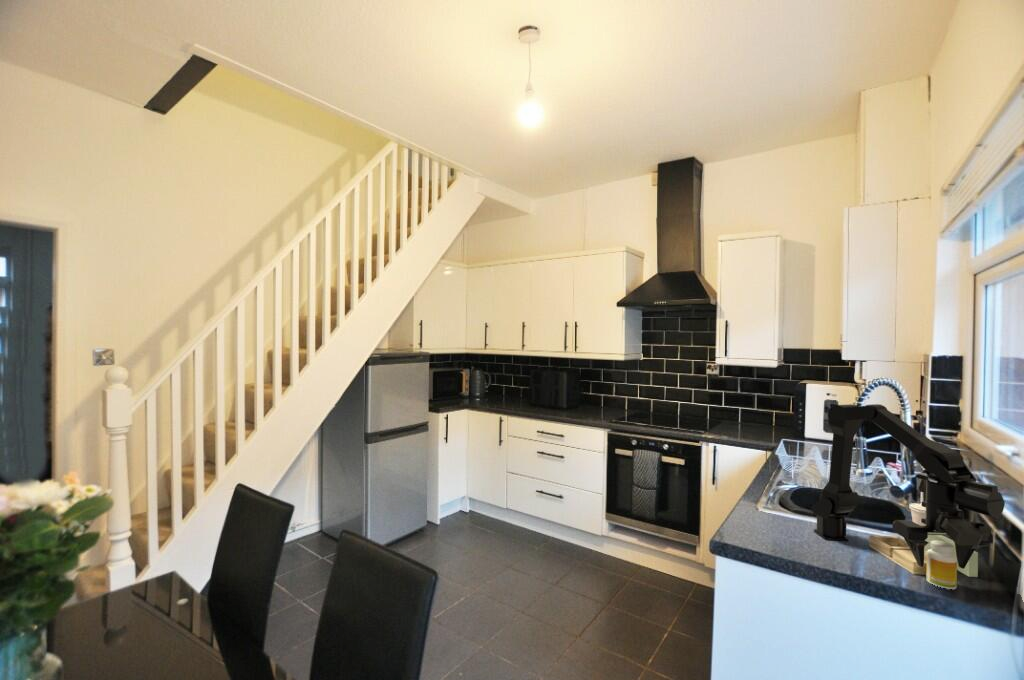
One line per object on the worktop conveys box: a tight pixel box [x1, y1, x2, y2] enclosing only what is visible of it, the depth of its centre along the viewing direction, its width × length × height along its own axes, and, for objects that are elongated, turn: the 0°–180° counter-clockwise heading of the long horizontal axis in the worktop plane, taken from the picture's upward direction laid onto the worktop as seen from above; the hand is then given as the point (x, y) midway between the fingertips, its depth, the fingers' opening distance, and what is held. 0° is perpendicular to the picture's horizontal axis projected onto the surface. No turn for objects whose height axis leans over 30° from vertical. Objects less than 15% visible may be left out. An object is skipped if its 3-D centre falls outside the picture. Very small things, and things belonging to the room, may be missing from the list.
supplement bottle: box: [925, 540, 958, 590], centre depth 112 cm, size 5×5×10 cm
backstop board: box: [924, 535, 979, 578], centre depth 122 cm, size 2×14×6 cm, turn 175°
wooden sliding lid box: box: [868, 535, 927, 576], centre depth 124 cm, size 8×16×3 cm, turn 176°
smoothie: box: [909, 491, 926, 526], centre depth 137 cm, size 6×6×14 cm
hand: (941, 566), depth 112 cm, fingers open, 9 cm apart
